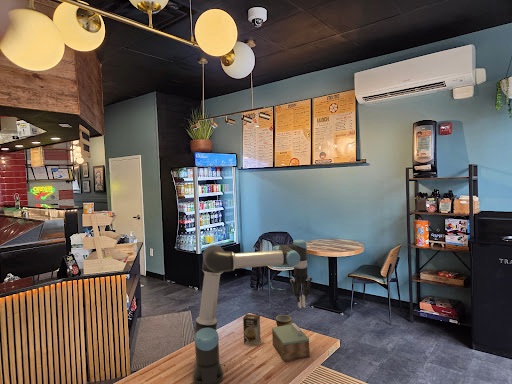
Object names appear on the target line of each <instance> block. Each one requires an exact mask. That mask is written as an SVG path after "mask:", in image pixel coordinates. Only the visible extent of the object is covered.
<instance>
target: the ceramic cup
mask: <svg viewBox="0 0 512 384" xmlns="http://www.w3.org/2000/svg"><path fill="white" fill-rule="evenodd" d="M275 323H276V327H278V326H285V325H291V323H292V317H291V316H290V315H287V314H278V315H277V316H276V317H275Z"/></svg>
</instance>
